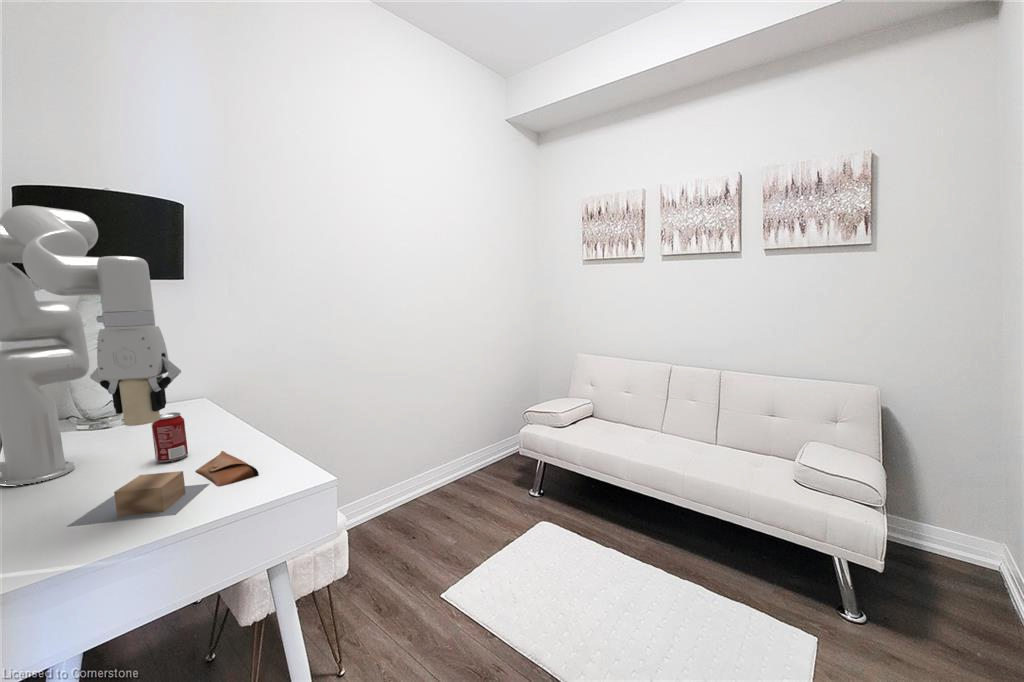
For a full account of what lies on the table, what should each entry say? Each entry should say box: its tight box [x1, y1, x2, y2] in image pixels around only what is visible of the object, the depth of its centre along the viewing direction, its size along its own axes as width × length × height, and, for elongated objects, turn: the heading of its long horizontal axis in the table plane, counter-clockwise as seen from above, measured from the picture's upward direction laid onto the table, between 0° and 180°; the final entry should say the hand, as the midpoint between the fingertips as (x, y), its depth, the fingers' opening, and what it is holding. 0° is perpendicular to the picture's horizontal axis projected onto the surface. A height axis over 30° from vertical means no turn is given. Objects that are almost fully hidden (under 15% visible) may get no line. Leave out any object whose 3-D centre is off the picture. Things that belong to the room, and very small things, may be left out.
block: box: [113, 470, 186, 516], centre depth 89 cm, size 8×8×5 cm
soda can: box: [151, 411, 189, 464], centre depth 114 cm, size 7×7×12 cm
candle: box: [119, 379, 161, 427], centre depth 86 cm, size 6×6×10 cm
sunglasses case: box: [195, 450, 260, 488], centre depth 104 cm, size 18×7×7 cm, turn 55°
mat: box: [66, 483, 210, 527], centre depth 90 cm, size 18×14×1 cm
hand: (141, 409), depth 87 cm, fingers closed on candle, 5 cm apart
